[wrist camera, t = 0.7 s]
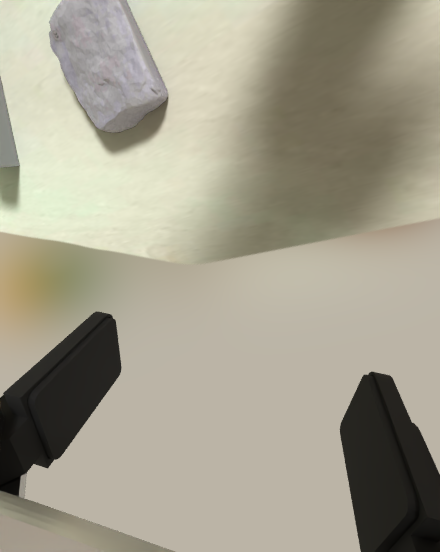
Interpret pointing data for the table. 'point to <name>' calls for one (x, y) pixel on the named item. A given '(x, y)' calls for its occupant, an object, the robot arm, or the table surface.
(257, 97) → the table surface
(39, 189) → the table surface
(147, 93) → the stone block
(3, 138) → the board
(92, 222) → the table surface
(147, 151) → the table surface
